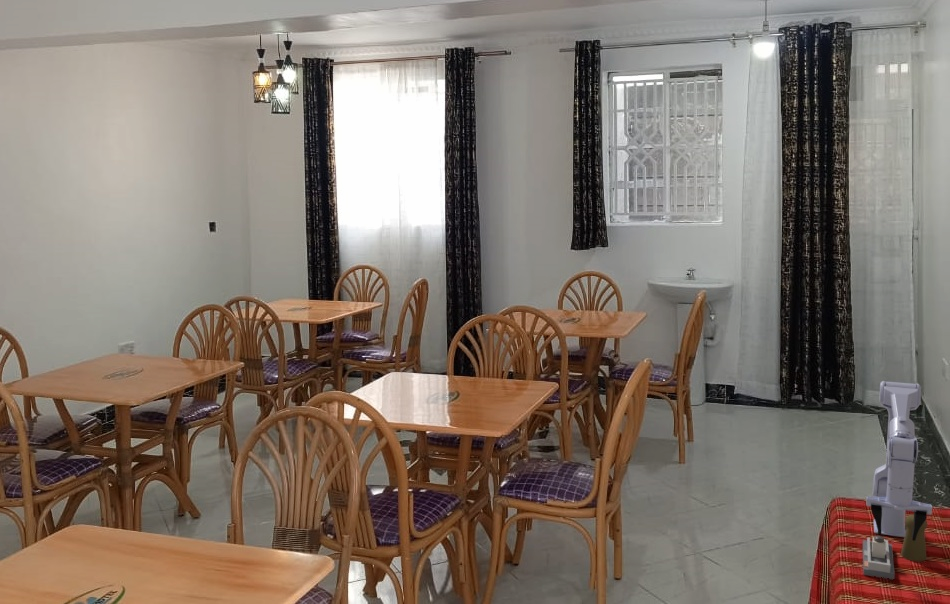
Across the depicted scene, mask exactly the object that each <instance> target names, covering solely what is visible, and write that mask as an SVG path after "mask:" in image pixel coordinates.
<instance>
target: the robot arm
mask: <svg viewBox="0 0 950 604" xmlns="http://www.w3.org/2000/svg"><path fill="white" fill-rule="evenodd" d="M878 398H879V403H878V404H879V406H880V407H881V408H884V409H886V410H887V412H888V419H887V420H888V422H887V439H886V453H885V464H883V465H881V466H879V467H877V468H875V470H874V473H873V474H874V475H873V479H872V480H873V481H872V496H868V495H866V500H865V501H866V507H869V508H870V510H871V514H872V516H873V533H874V534H877V536H882V535H887V536H892V537H900V538H905V533H906V525H905V519H906V511H908V512H913V515H914V524H913V530H912V540H913V541H916V536H917V534H918V531H919V529H920V527H921V526H922V524H923V523H924V522H925V520H926V521H927V517H928V516H927V515H930V516H931V515H933V505H932V504H930V503H924V502H920V501H917V500H913V493H914V491H913V489H914V480H915V479H914V477H915V476H914V475H915V465H916V463H917V459H918V456H919V442H918V439H917V436H915V435H916V434H915V422H914V421H913V420H912V419H911V418H910V411H915V410H917V409H918V408H919V406H920V405H921V399H922V386H921V385H920V383H911V382H910V383H909V382H897V381H885V380H882V381H880V384H879V397H878Z"/></svg>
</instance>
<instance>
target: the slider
mask: <svg viewBox="0 0 950 604" xmlns="http://www.w3.org/2000/svg"><path fill="white" fill-rule="evenodd" d="M885 540H886V539H885V537H883V536H882V535H881V536H879V535H874V537H872V540H871V541H872V557H877V558H884V559H885V546H886V542H885Z"/></svg>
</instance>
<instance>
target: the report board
mask: <svg viewBox="0 0 950 604" xmlns="http://www.w3.org/2000/svg"><path fill="white" fill-rule="evenodd" d="M866 539H867V540H865V539H862V569H863V570H862V571H863V572H862V574H863V575H864V576H871V577H874V576H876V578H881V577H882V579H887V578H889V579H888V580H893V579H894V580H895V565H894V554H893V544H892V543H889V540H888V539H885V542H886V546H885V559H884V558H877V557H872V540H871V537H867V538H866ZM883 577H884V578H883Z"/></svg>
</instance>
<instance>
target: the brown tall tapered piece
mask: <svg viewBox="0 0 950 604" xmlns="http://www.w3.org/2000/svg"><path fill="white" fill-rule="evenodd" d="M913 524H914V514H909V515H907V516H905V530H906V533H905V537H903V542H902V548H901V552H900V555H901V557H903V558H904V559H906V560H908V561H912V562H924V561H926V560H927V559H928V558H927V547H926V536H925V535H926V534H925V531H926V529H927V527H928V521H927V519H926V520H925V522H924V523H923V524H922V526H921V527H920V529H919V531H918V534H917V536H916V541H913V540H912V530H913Z"/></svg>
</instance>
